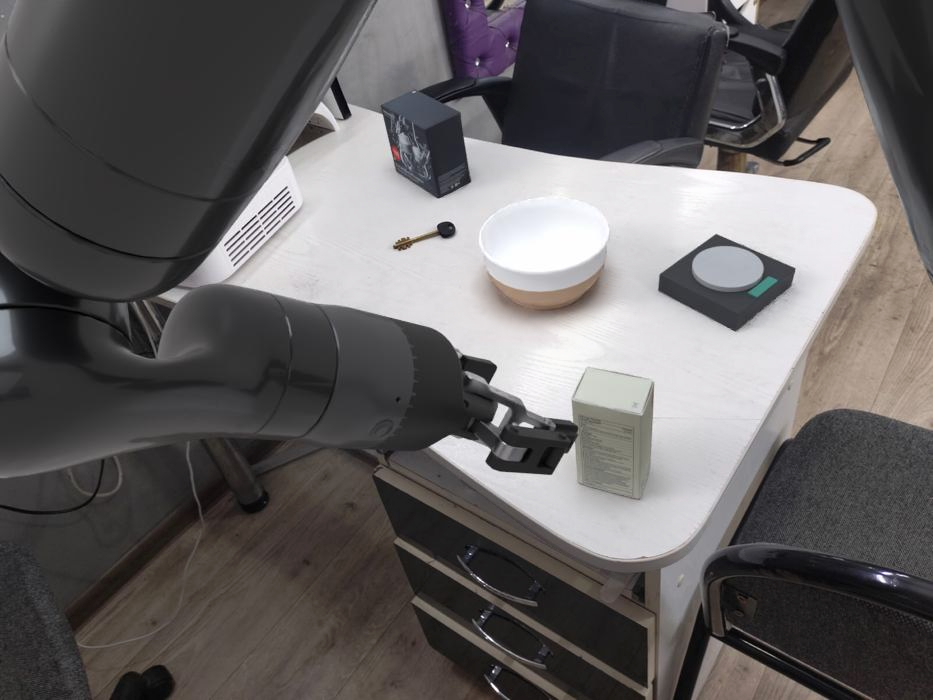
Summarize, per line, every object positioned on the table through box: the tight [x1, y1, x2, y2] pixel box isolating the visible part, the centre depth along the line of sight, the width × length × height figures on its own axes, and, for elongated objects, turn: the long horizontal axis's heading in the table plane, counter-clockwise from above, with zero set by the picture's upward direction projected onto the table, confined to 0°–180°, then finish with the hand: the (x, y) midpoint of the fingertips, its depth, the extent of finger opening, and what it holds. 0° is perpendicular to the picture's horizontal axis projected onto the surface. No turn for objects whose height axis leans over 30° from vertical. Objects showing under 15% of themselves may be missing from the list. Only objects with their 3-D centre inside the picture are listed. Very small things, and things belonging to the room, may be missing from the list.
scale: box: [657, 233, 797, 332], centre depth 82 cm, size 11×11×3 cm
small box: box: [380, 88, 472, 199], centre depth 108 cm, size 13×7×12 cm, turn 37°
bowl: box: [477, 196, 611, 311], centre depth 86 cm, size 16×16×8 cm
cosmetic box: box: [570, 366, 655, 500], centre depth 62 cm, size 6×4×12 cm
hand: (527, 404), depth 50 cm, fingers open, 8 cm apart
